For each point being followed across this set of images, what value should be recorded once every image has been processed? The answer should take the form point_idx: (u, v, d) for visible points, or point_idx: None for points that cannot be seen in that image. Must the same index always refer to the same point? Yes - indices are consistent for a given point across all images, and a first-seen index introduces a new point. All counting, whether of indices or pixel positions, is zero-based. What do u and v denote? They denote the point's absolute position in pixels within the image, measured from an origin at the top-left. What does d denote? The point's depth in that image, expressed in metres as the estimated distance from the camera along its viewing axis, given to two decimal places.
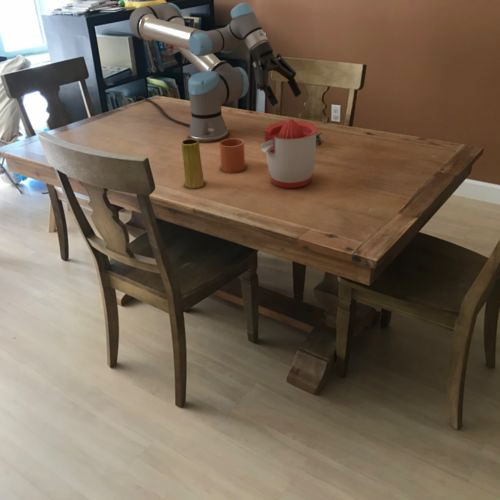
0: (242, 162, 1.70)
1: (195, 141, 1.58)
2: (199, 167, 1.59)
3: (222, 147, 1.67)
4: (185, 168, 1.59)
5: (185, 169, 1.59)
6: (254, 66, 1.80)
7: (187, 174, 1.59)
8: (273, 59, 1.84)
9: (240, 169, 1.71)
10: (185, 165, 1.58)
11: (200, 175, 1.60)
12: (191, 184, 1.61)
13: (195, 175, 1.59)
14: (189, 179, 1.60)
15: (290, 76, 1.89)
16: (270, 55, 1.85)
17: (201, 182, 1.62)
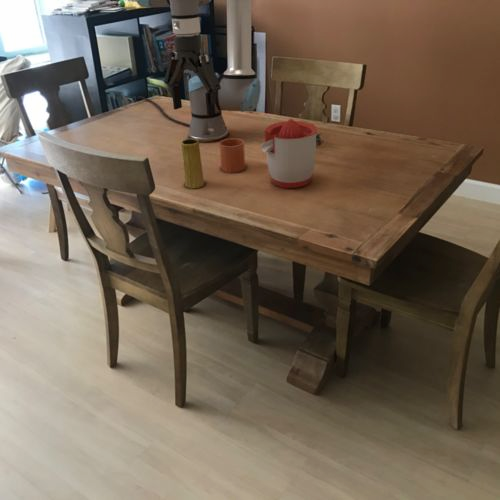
0: (242, 162, 1.70)
1: (195, 141, 1.58)
2: (199, 167, 1.59)
3: (222, 147, 1.67)
4: (185, 168, 1.59)
5: (185, 169, 1.59)
6: None
7: (187, 174, 1.59)
8: (187, 61, 1.42)
9: (240, 169, 1.71)
10: (185, 165, 1.58)
11: (200, 175, 1.60)
12: (191, 184, 1.61)
13: (195, 175, 1.59)
14: (189, 179, 1.60)
15: None
16: (190, 53, 1.42)
17: (201, 182, 1.62)
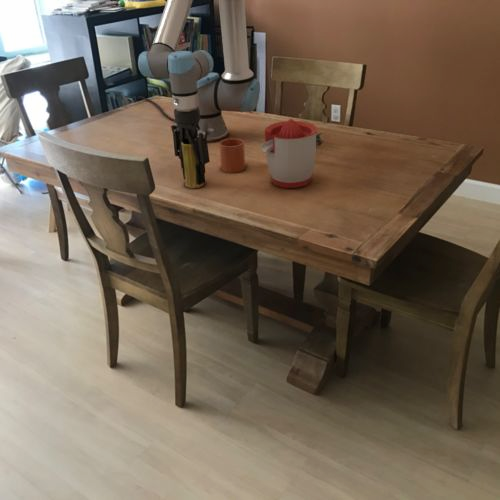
0: (242, 162, 1.70)
1: None
2: None
3: (222, 147, 1.67)
4: (185, 168, 1.59)
5: (185, 169, 1.59)
6: None
7: (187, 174, 1.59)
8: (186, 132, 1.52)
9: (240, 169, 1.71)
10: (185, 165, 1.58)
11: None
12: (191, 184, 1.61)
13: (195, 175, 1.59)
14: (189, 179, 1.60)
15: None
16: (189, 125, 1.51)
17: None
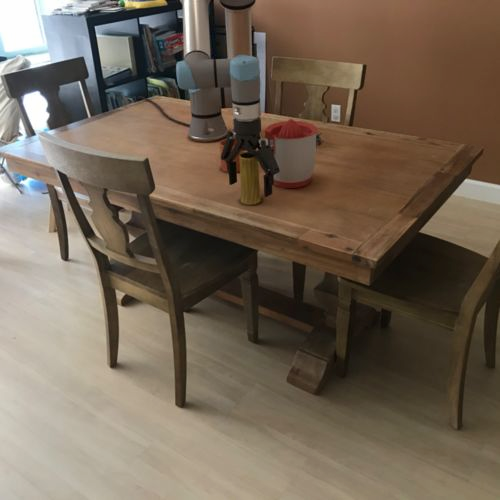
0: None
1: None
2: (257, 182, 1.47)
3: (222, 147, 1.67)
4: (242, 183, 1.48)
5: (242, 184, 1.48)
6: None
7: (244, 190, 1.48)
8: (246, 143, 1.41)
9: None
10: (242, 180, 1.47)
11: (258, 191, 1.49)
12: (248, 200, 1.49)
13: (253, 191, 1.48)
14: (246, 195, 1.49)
15: None
16: (250, 136, 1.40)
17: (258, 198, 1.50)
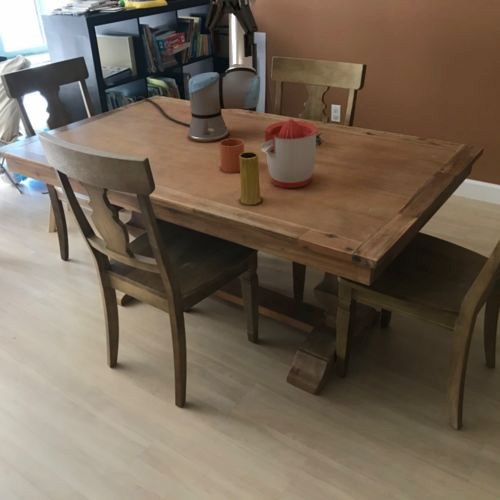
0: None
1: (253, 154, 1.47)
2: (257, 182, 1.47)
3: (222, 147, 1.67)
4: (242, 183, 1.48)
5: (242, 184, 1.48)
6: None
7: (244, 190, 1.48)
8: (227, 4, 1.54)
9: None
10: (242, 180, 1.47)
11: (258, 191, 1.49)
12: (248, 200, 1.49)
13: (253, 191, 1.48)
14: (246, 195, 1.49)
15: None
16: None
17: (258, 198, 1.50)
